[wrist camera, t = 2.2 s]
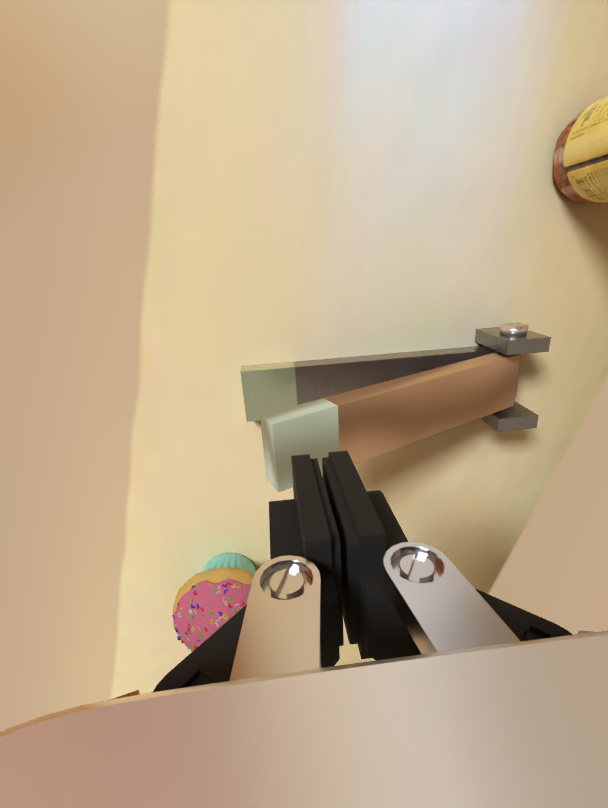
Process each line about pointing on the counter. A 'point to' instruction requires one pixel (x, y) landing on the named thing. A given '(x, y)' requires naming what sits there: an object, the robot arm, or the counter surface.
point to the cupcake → (212, 598)
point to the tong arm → (387, 414)
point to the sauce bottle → (584, 155)
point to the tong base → (383, 374)
